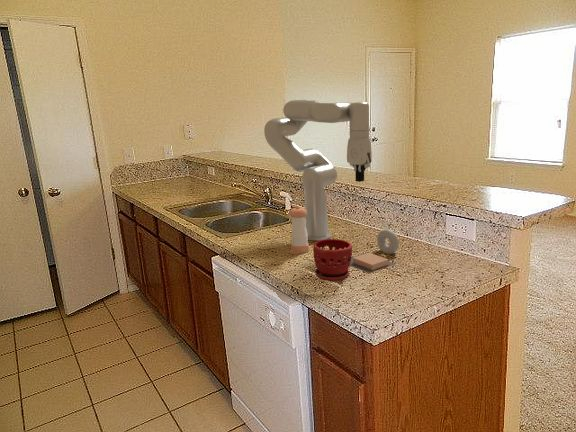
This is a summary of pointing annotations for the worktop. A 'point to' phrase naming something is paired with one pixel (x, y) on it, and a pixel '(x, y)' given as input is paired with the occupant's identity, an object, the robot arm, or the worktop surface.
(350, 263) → the mat
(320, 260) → the plant pot
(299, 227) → the pepper shaker
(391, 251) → the donut
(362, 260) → the tile
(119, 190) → the worktop surface
